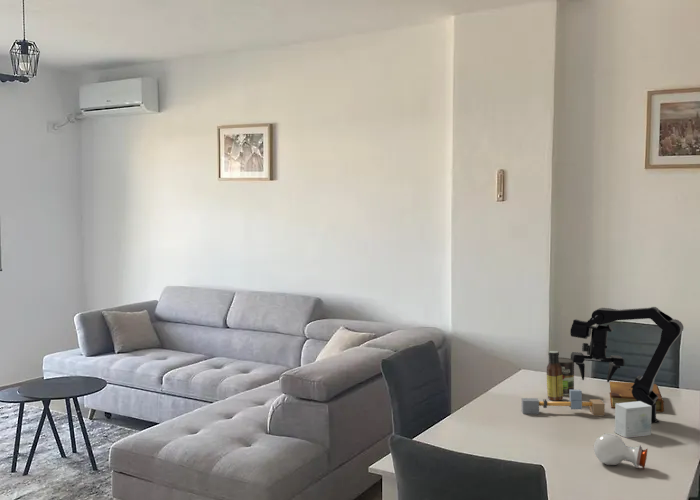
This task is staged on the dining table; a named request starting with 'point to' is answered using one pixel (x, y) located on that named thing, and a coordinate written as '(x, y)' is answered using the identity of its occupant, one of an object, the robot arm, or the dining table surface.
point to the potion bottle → (618, 451)
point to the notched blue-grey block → (575, 399)
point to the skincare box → (633, 419)
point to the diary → (630, 394)
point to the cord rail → (533, 405)
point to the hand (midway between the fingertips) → (595, 380)
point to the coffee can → (567, 374)
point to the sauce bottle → (554, 377)
